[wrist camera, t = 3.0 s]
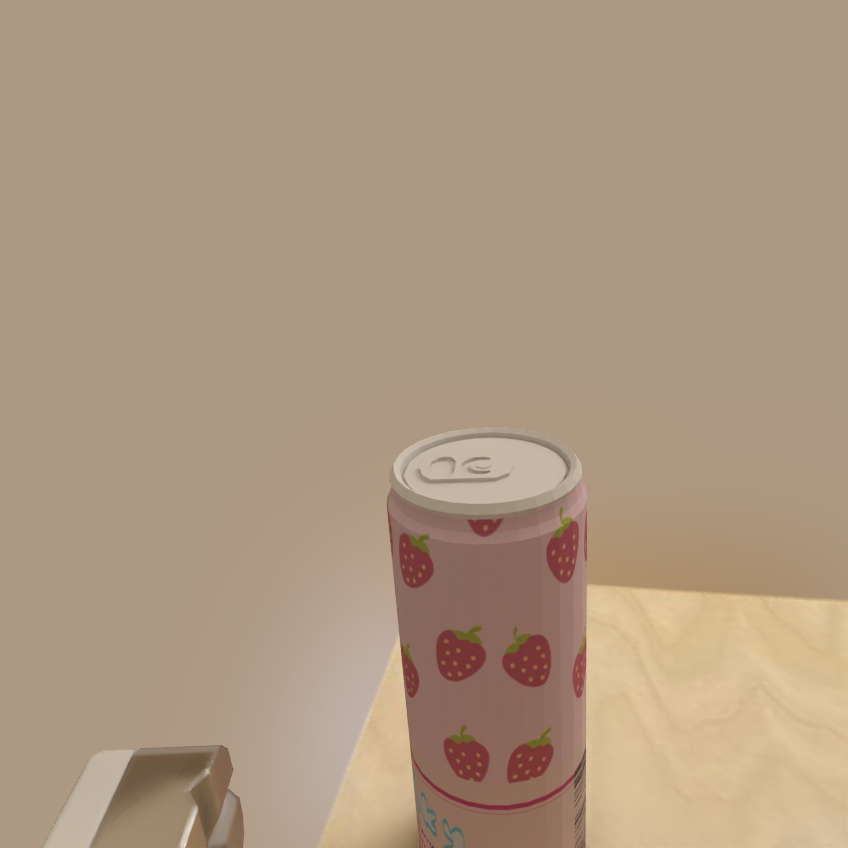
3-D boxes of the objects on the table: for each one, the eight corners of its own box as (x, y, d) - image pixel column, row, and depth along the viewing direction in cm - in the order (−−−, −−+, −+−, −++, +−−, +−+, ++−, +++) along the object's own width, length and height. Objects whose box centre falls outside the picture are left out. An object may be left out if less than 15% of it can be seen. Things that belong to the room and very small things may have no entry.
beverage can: (399, 816, 28) (357, 446, 22) (535, 766, 30) (527, 411, 24) (459, 962, 23) (424, 530, 17) (618, 890, 25) (632, 478, 19)
